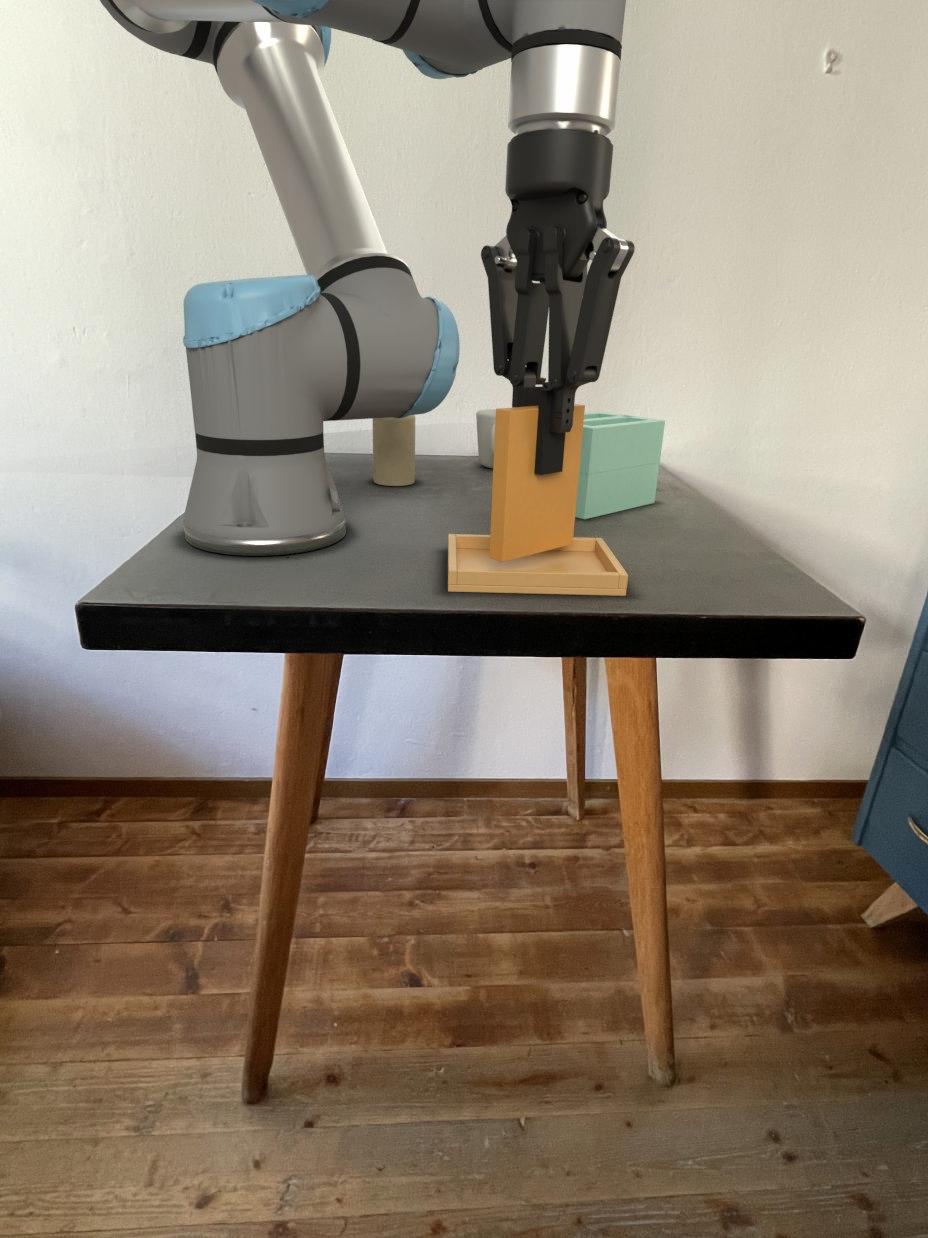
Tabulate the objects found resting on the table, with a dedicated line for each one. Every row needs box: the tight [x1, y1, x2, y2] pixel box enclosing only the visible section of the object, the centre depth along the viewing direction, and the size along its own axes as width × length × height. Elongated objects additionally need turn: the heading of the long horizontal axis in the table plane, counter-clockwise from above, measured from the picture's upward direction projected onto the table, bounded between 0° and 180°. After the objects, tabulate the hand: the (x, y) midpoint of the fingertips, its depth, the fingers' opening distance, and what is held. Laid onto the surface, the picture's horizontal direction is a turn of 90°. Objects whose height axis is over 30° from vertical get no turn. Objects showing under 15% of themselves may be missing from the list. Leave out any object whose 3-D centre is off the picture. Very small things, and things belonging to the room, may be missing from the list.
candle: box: [372, 415, 416, 487], centre depth 96 cm, size 6×6×10 cm
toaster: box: [575, 411, 666, 520], centre depth 88 cm, size 10×15×10 cm, turn 133°
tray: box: [447, 533, 629, 597], centre depth 64 cm, size 14×11×2 cm
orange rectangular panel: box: [489, 403, 586, 562], centre depth 61 cm, size 2×9×12 cm, turn 133°
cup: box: [475, 408, 497, 470], centre depth 108 cm, size 11×8×8 cm
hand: (537, 469), depth 61 cm, fingers closed on orange rectangular panel, 1 cm apart
